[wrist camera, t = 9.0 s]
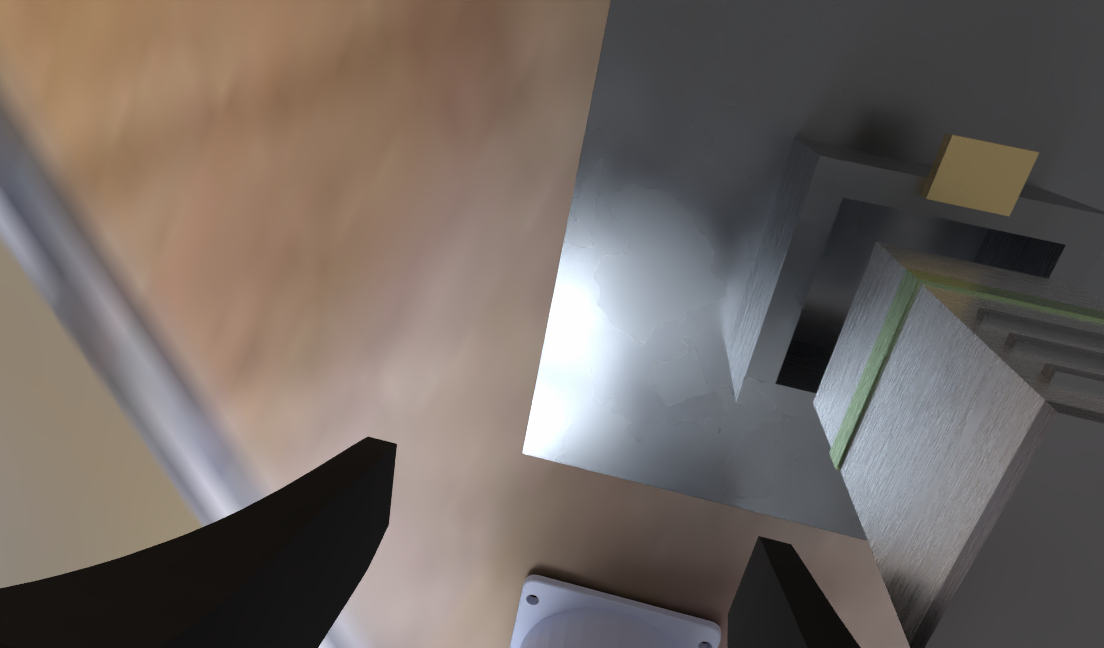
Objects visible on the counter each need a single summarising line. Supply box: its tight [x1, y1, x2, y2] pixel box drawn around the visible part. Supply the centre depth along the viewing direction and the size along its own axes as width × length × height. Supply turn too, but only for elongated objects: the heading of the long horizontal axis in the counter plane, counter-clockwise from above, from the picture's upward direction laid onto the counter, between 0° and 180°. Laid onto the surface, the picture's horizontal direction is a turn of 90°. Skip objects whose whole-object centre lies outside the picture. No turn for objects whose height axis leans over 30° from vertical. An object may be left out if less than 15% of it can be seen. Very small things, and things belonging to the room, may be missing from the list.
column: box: [813, 241, 1104, 648], centre depth 11 cm, size 4×4×7 cm
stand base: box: [523, 0, 1104, 541], centre depth 18 cm, size 18×18×5 cm
